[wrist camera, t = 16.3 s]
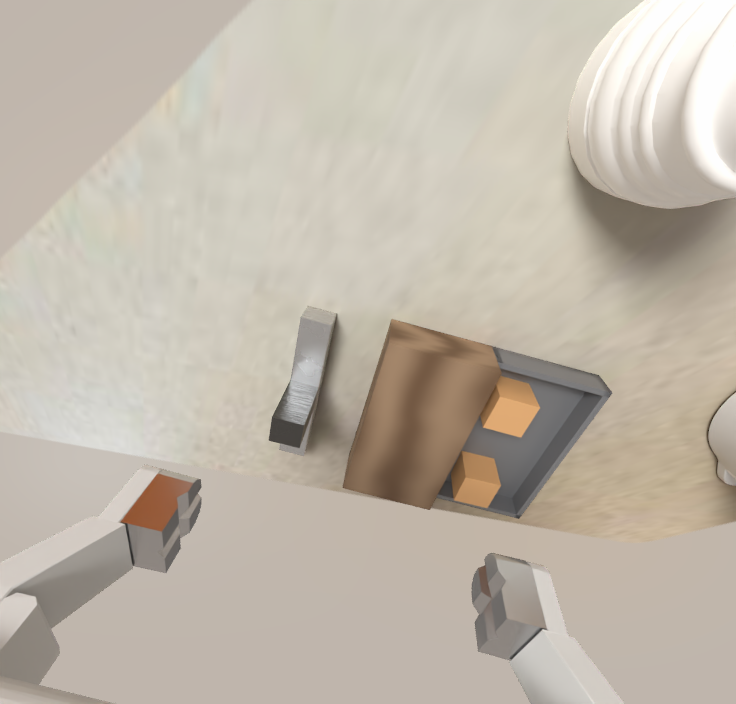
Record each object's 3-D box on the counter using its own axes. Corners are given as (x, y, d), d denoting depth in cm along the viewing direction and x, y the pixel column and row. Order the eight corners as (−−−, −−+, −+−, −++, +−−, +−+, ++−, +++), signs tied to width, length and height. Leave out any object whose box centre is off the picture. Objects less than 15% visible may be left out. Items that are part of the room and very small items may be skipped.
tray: (599, 375, 38) (612, 392, 36) (513, 498, 49) (519, 518, 46) (491, 346, 38) (497, 361, 35) (428, 476, 48) (428, 495, 46)
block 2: (492, 373, 39) (528, 383, 39) (477, 402, 41) (512, 412, 41) (500, 396, 35) (540, 407, 36) (483, 427, 37) (521, 437, 38)
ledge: (491, 346, 38) (501, 373, 34) (428, 476, 48) (429, 509, 44) (391, 319, 38) (389, 343, 33) (348, 455, 48) (342, 487, 44)
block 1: (461, 450, 45) (494, 458, 45) (450, 473, 47) (481, 480, 47) (465, 477, 41) (500, 485, 41) (453, 500, 43) (487, 508, 43)
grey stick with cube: (337, 312, 38) (317, 357, 30) (309, 438, 47) (289, 497, 40) (308, 304, 38) (281, 348, 30) (286, 432, 47) (261, 490, 40)
